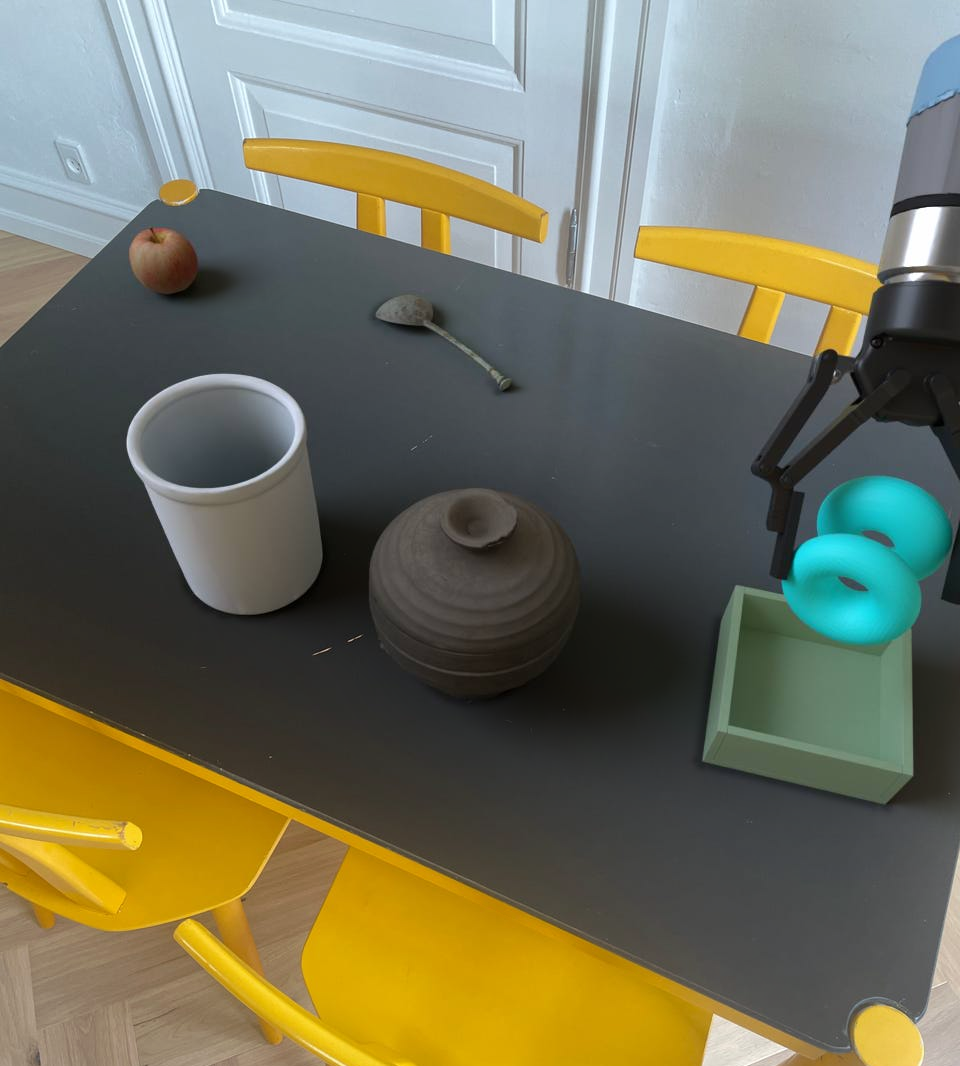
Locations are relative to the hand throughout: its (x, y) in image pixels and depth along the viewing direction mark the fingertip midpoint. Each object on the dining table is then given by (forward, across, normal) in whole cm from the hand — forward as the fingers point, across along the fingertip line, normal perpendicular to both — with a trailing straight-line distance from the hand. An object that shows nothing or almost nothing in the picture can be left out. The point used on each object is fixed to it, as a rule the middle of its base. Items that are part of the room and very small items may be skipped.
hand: (864, 590), depth 67 cm
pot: (+12, +30, -12) cm, 34 cm away
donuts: (+2, 0, -5) cm, 5 cm away
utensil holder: (+7, +53, -17) cm, 56 cm away
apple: (-22, +78, -46) cm, 93 cm away
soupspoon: (-18, +41, -43) cm, 62 cm away
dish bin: (+12, 0, -12) cm, 17 cm away
